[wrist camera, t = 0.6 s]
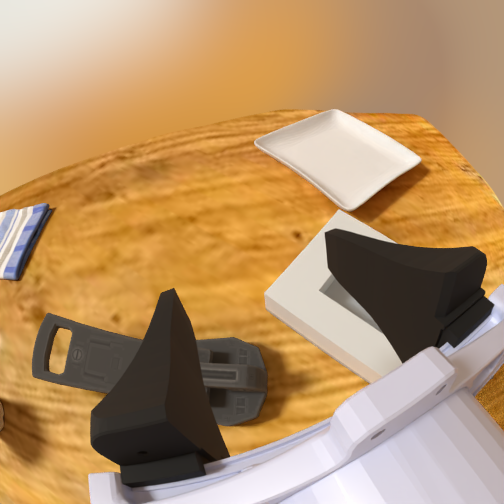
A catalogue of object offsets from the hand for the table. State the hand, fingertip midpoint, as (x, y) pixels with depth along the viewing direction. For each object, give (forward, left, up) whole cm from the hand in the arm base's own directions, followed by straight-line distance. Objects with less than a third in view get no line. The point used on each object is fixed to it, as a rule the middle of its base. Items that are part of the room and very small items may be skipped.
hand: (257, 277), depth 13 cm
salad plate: (+11, -33, -19) cm, 39 cm away
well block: (-4, -12, -18) cm, 22 cm away
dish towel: (+52, +20, -19) cm, 59 cm away
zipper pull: (+8, +10, -18) cm, 22 cm away
